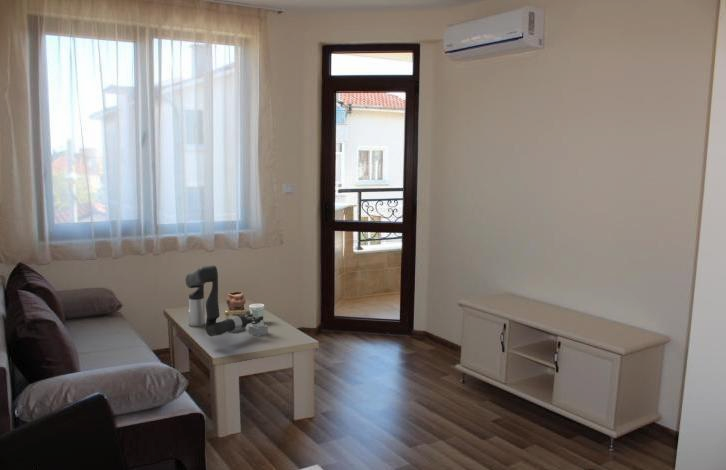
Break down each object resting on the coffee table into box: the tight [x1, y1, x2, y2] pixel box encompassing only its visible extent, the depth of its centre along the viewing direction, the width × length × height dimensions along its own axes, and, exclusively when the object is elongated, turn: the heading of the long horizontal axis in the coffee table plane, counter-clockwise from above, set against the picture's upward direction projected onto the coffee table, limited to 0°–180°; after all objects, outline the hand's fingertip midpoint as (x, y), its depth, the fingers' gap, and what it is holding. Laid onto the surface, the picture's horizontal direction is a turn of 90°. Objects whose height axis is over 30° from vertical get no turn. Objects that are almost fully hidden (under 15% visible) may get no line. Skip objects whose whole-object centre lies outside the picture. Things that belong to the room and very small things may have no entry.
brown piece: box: [224, 309, 247, 320], centre depth 381 cm, size 13×3×9 cm, turn 94°
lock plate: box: [228, 326, 247, 334], centre depth 378 cm, size 13×9×2 cm
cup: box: [248, 303, 265, 320], centre depth 394 cm, size 10×10×11 cm
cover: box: [252, 308, 265, 328], centre depth 369 cm, size 5×5×11 cm
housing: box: [248, 324, 269, 337], centre depth 370 cm, size 8×8×5 cm
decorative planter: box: [225, 291, 246, 311], centre depth 417 cm, size 20×12×14 cm, turn 37°
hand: (257, 316), depth 369 cm, fingers open, 8 cm apart
